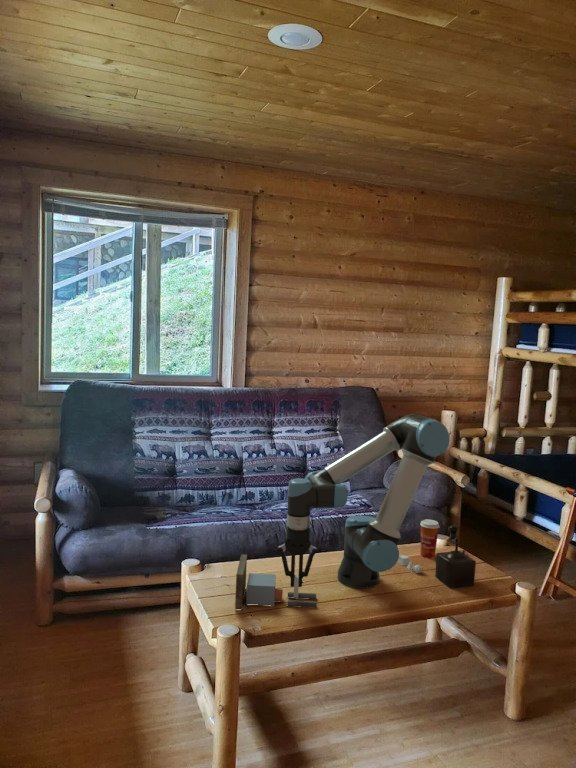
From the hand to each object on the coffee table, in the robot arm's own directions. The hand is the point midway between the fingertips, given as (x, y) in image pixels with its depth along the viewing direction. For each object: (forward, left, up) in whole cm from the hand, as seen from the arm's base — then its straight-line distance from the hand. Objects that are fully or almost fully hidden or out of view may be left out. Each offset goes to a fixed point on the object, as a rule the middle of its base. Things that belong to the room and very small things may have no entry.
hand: (295, 595), depth 194 cm
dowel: (+9, 0, -2) cm, 10 cm away
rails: (-2, 0, -2) cm, 3 cm away
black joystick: (-58, -25, -2) cm, 63 cm away
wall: (+18, 0, -2) cm, 18 cm away
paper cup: (-54, -46, -2) cm, 71 cm away
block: (+11, 0, -2) cm, 12 cm away
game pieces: (-44, -32, -3) cm, 55 cm away
